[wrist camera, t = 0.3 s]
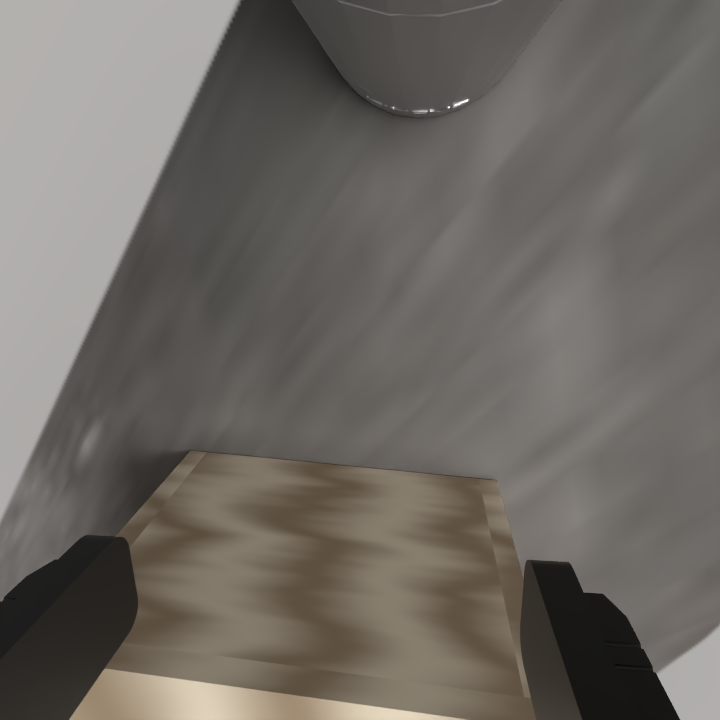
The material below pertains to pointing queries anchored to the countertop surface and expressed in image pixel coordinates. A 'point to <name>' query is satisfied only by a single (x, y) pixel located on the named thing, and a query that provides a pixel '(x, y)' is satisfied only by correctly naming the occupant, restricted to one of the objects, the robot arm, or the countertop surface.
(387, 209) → the countertop surface
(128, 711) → the cabinet
